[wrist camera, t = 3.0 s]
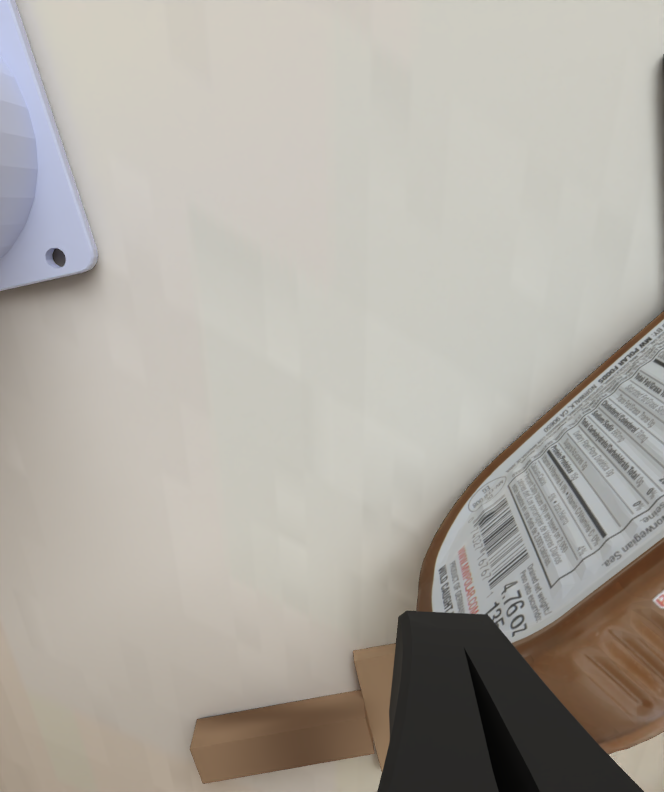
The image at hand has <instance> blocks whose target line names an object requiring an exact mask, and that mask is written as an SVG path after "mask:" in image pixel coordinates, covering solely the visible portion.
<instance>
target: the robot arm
mask: <svg viewBox="0 0 664 792" xmlns="http://www.w3.org/2000/svg"><path fill="white" fill-rule="evenodd" d="M56 248H58V249H60V250H61V251H63V253H64V255H65V257H66V262H65V264H64V266H63V267H60V266H59V265H57V264H56V263H55V262H54V260H53V257H52V253H53V251H54V249H56ZM97 259H98V252H97V247H96V244H95V241H94V238H93V235H92V232H91V229H90V226H89V223H88V220H87V217H86V214H85V211H84V208H83V205H82V201H81V198H80V195H79V192H78V189H77V186H76V183H75V180H74V177H73V174H72V171H71V168H70V165H69V162H68V159H67V156H66V153H65V150H64V147H63V144H62V141H61V138H60V135H59V132H58V129H57V126H56V123H55V120H54V117H53V114H52V110H51V107H50V104H49V101H48V98H47V95H46V92H45V89H44V86H43V83H42V80H41V77H40V74H39V71H38V68H37V65H36V62H35V59H34V56H33V53H32V50H31V47H30V44H29V41H28V38H27V35H26V32H25V29H24V26H23V22H22V19H21V16H20V13H19V10H18V7H17V4H16V1H15V0H0V291H3V290H7V289H12V288H16V287H21V286H25V285H30V284H34V283H38V282H43V281H47V280H52V279H56V278H61V277H65V276H70V275H74V274H79V273H83V272H86V271H88V270H90V269H92V268H93V267H94V266H95V264H96V263H97ZM389 725H390V742H389V746H388V751H387V755H386V759H385V763H384V767H383V771H382V776H381V780H380V784H379V788H378V791H377V792H644V791H643V790H642V789H641V788H640V787H639V786H638V785H637V784H636V783H635V782H634V781H633V780H632V779H631V778H630V777H629V776H628V775H627V774H626V773H625V772H624V771H623V770H622V769H621V768H620V767H619V766H618V765H617V764H616V762H615V761H614V760H613V759H612V758H611V757H610V756H609V755H608V754H607V753H606V752H605V751H604V750H603V749H602V747H601V746H600V745H599V744H598V743H597V742H596V741H595V740H594V739H593V738H592V736H591V735H590V734H589V733H588V732H587V731H586V730H585V729H584V727H583V726H582V725H581V724H580V723H579V722H578V721H577V720H576V718H575V717H574V716H573V715H572V714H571V713H570V712H569V711H568V710H567V708H566V707H565V706H564V705H563V704H562V703H561V702H560V700H559V699H558V698H557V697H556V696H555V695H554V693H553V692H552V691H551V690H550V689H549V688H548V686H547V685H546V684H545V683H544V682H543V681H542V679H541V678H540V677H539V676H538V675H537V673H536V672H535V671H534V670H533V669H532V667H531V666H530V665H529V664H528V663H527V661H526V660H525V659H524V658H523V657H522V655H521V654H520V653H519V652H518V650H517V649H516V648H515V647H514V646H513V644H512V643H511V642H510V641H509V639H508V638H507V637H506V636H505V635H504V633H503V632H502V631H501V630H500V628H499V627H498V626H497V625H496V624H495V623H494V621H493V620H492V619H491V618H490V617H489V616H488V614H467V613H445V612H422V611H406V612H405V613H403V614H402V615H401V616H399V618H398V628H397V638H396V647H395V657H394V667H393V677H392V687H391V696H390V706H389Z"/></svg>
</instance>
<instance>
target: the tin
mask: <svg viewBox="0 0 664 792" xmlns="http://www.w3.org/2000/svg"><path fill="white" fill-rule="evenodd" d="M416 611H422V612H445V613H467V614H488V616H489V617H490V618H491V619H492V620H493V621H494V623H495V624H496V625H497V626H498V627H499V628H500V630H501V631H502V632H503V633H504V635H505V636H506V637H507V638H508V639H509V641H510V642H511V643H512V644H513V646H514V647H515V648H516V649H517V650H518V652H519V653H520V654H521V655H522V657H523V658H524V659H525V660H526V661H527V663H528V664H529V665H530V666H531V667H532V669H533V670H534V671H535V672H536V673H537V675H538V676H539V677H540V678H541V679H542V681H543V682H544V683H545V684H546V685H547V686H548V688H549V689H550V690H551V691H552V692H553V693H554V695H555V696H556V697H557V698H558V699H559V700H560V702H561V703H562V704H563V705H564V706H565V707H566V708H567V710H568V711H569V712H570V713H571V714H572V715H573V716H574V717H575V718H576V720H577V721H578V722H579V723H580V724H581V725H582V726H583V727H584V729H585V730H586V731H587V732H588V733H589V734H590V735H591V736H592V738H593V739H594V740H595V741H596V742H597V743H598V744H599V745H600V746H601V747H602V749H603V750H604V751H605V752H606V753H607V754H611V753H614V752H616V751H620V750H624V749H628V748H630V747H633V746H635V745H637V744H639V743H642V742H644V741H647V740H649V739H651V738H653V737H655V736H657V735H659V734H660V733H662V732H664V311H663V312H662V313H661V314H660V315H659V316H657V317H656V318H655V319H654V320H653V321H652V322H651V323H649V324H648V325H647V326H646V327H645V328H644V329H643V330H641V331H640V332H639V333H638V334H637V335H635V336H634V337H633V338H632V339H631V340H630V341H628V342H627V343H626V344H625V345H624V346H623V347H621V348H620V349H619V350H618V351H617V352H616V353H615V354H613V355H612V356H611V357H610V358H609V359H608V360H606V361H605V362H604V363H603V364H602V365H601V366H600V367H598V368H597V369H596V370H595V371H594V372H593V373H592V374H590V375H589V376H588V377H587V378H586V379H585V380H584V381H583V382H581V383H580V384H579V385H578V386H577V387H576V388H575V389H573V390H572V391H571V392H570V393H569V394H568V395H567V396H565V397H564V398H563V399H562V400H561V401H560V402H559V403H557V404H556V405H555V406H554V407H553V408H552V409H551V410H549V411H548V412H547V413H546V414H545V415H544V416H543V417H541V418H540V419H539V420H538V421H537V422H536V423H535V424H534V425H533V426H531V427H530V428H529V429H528V430H527V431H526V432H525V433H524V434H522V435H521V436H520V437H519V438H518V439H517V440H516V441H515V442H513V443H512V444H511V445H510V446H509V447H508V448H507V449H506V450H505V451H503V452H502V453H501V454H500V455H499V456H498V457H497V458H496V459H495V460H494V461H493V462H492V463H491V464H490V465H489V466H488V467H487V468H485V469H484V470H483V471H482V473H481V474H480V475H479V476H478V477H477V478H476V479H475V480H474V481H473V482H472V483H471V485H470V486H469V487H468V488H467V489H466V491H465V492H464V493H463V494H462V496H461V497H460V498H459V499H458V501H457V502H456V503H455V505H454V506H453V508H452V509H451V510H450V512H449V513H448V515H447V516H446V518H445V519H444V521H443V523H442V524H441V526H440V528H439V529H438V531H437V533H436V535H435V536H434V538H433V540H432V543H431V545H430V547H429V549H428V551H427V553H426V556H425V558H424V561H423V564H422V567H421V571H420V578H419V586H418V599H417V610H416Z"/></svg>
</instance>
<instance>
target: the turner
mask: <svg viewBox="0 0 664 792" xmlns="http://www.w3.org/2000/svg"><path fill="white" fill-rule="evenodd" d="M395 647H396V643H395V644H389V645H383V646H377V647H372V648H366V649H360V650H354V651H353V655H354V664H355V668H356V672H357V676H358V679H359V683H360V687H361V690H357V691H351V692H345V693H340V694H334V695H329V696H323V697H318V698H312V699H307V700H301V701H296V702H290V703H285V704H279V705H274V706H268V707H263V708H257V709H252V710H246V711H241V712H235V713H230V714H224V715H219V716H213V717H208V718H202V719H197V722H196V726H195V730H194V734H193V738H192V742H191V746H190V751H191V754H192V756H193V759H194V761H195V764H196V767H197V769H198V772H199V775H200V777H201V780H202V783H203V784H205V783H211V782H216V781H222V780H228V779H233V778H239V777H245V776H250V775H256V774H262V773H267V772H273V771H279V770H285V769H290V768H296V767H302V766H307V765H313V764H319V763H324V762H330V761H336V760H341V759H347V758H353V757H358V756H364V755H370V754H374V745H373V739H374V743H375V747H376V751H377V755H378V759H379V763H380V767H381V771H383V767H384V763H385V759H386V755H387V751H388V746H389V742H390V725H389V706H390V696H391V687H392V677H393V667H394V657H395Z"/></svg>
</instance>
